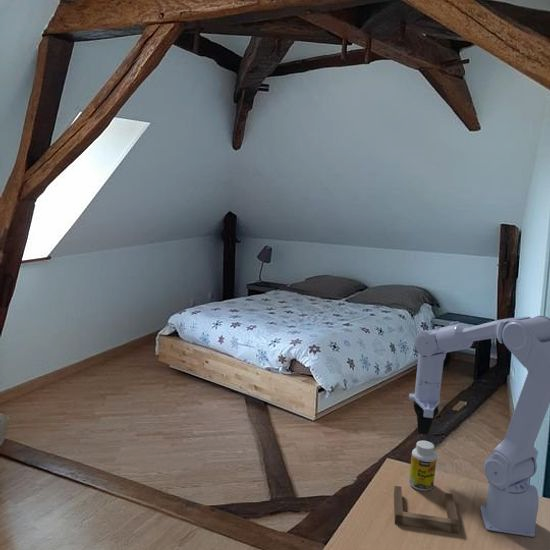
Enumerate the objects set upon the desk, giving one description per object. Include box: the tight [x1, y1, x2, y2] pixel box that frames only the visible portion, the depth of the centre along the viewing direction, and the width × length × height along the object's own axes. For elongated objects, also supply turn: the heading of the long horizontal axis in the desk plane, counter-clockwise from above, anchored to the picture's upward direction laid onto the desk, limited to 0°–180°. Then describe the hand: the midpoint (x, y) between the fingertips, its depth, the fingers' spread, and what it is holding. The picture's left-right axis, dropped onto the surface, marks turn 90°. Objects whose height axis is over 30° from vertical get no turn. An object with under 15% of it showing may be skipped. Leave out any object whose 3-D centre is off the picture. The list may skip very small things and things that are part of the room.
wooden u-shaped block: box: [393, 485, 460, 534], centre depth 121 cm, size 12×11×2 cm
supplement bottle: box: [408, 440, 438, 492], centre depth 131 cm, size 6×6×10 cm
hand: (422, 433), depth 137 cm, fingers closed
